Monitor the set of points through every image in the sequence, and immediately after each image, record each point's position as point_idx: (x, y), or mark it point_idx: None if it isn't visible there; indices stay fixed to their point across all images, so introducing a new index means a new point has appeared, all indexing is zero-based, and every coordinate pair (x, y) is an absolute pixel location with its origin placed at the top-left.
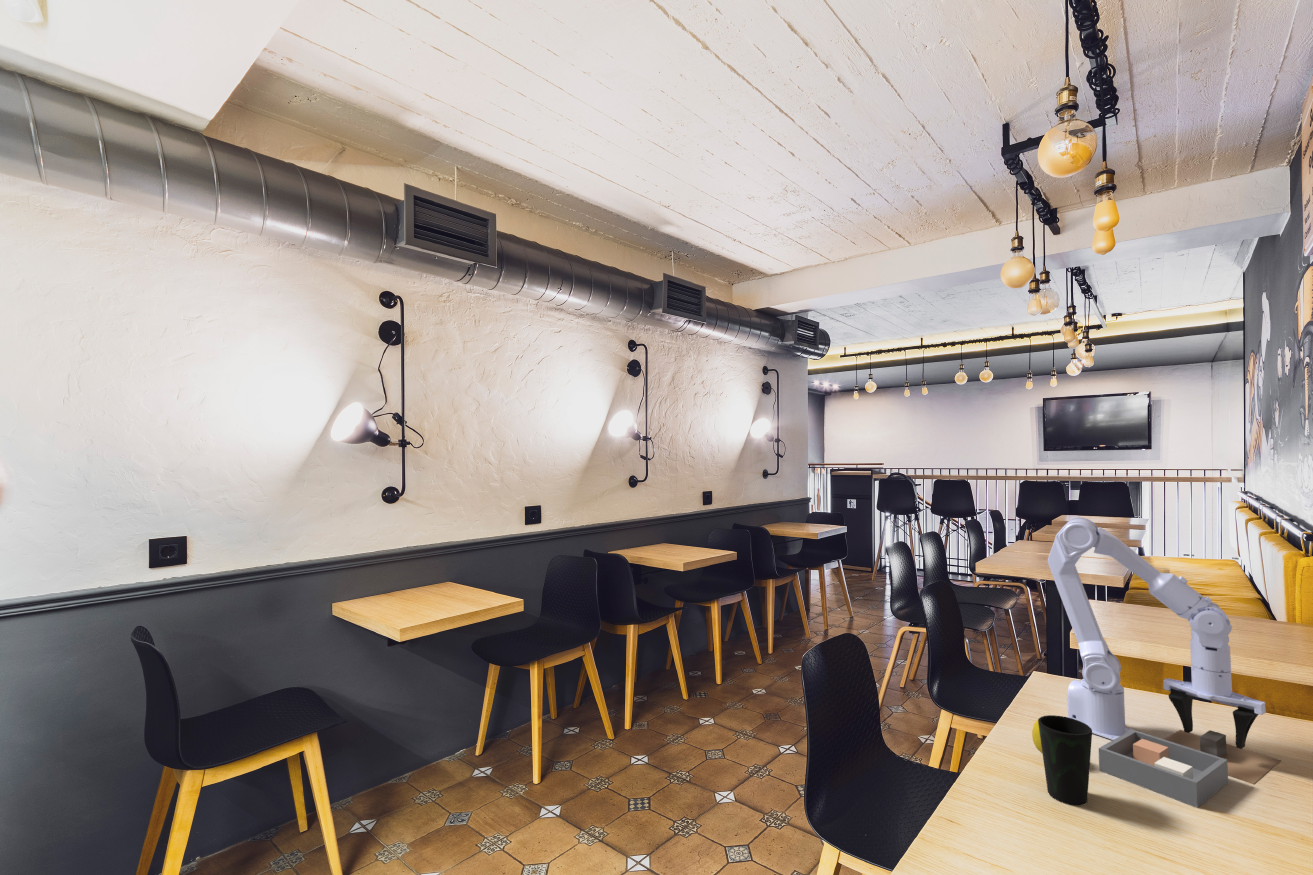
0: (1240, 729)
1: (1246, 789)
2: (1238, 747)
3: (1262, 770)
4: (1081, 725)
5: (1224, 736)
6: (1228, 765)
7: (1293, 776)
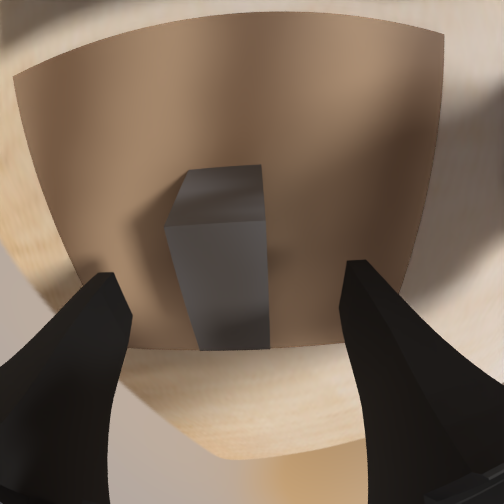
0: (31, 355)
1: (9, 2)
2: (104, 273)
3: (70, 234)
4: None
5: (196, 334)
6: (135, 158)
7: (35, 271)
